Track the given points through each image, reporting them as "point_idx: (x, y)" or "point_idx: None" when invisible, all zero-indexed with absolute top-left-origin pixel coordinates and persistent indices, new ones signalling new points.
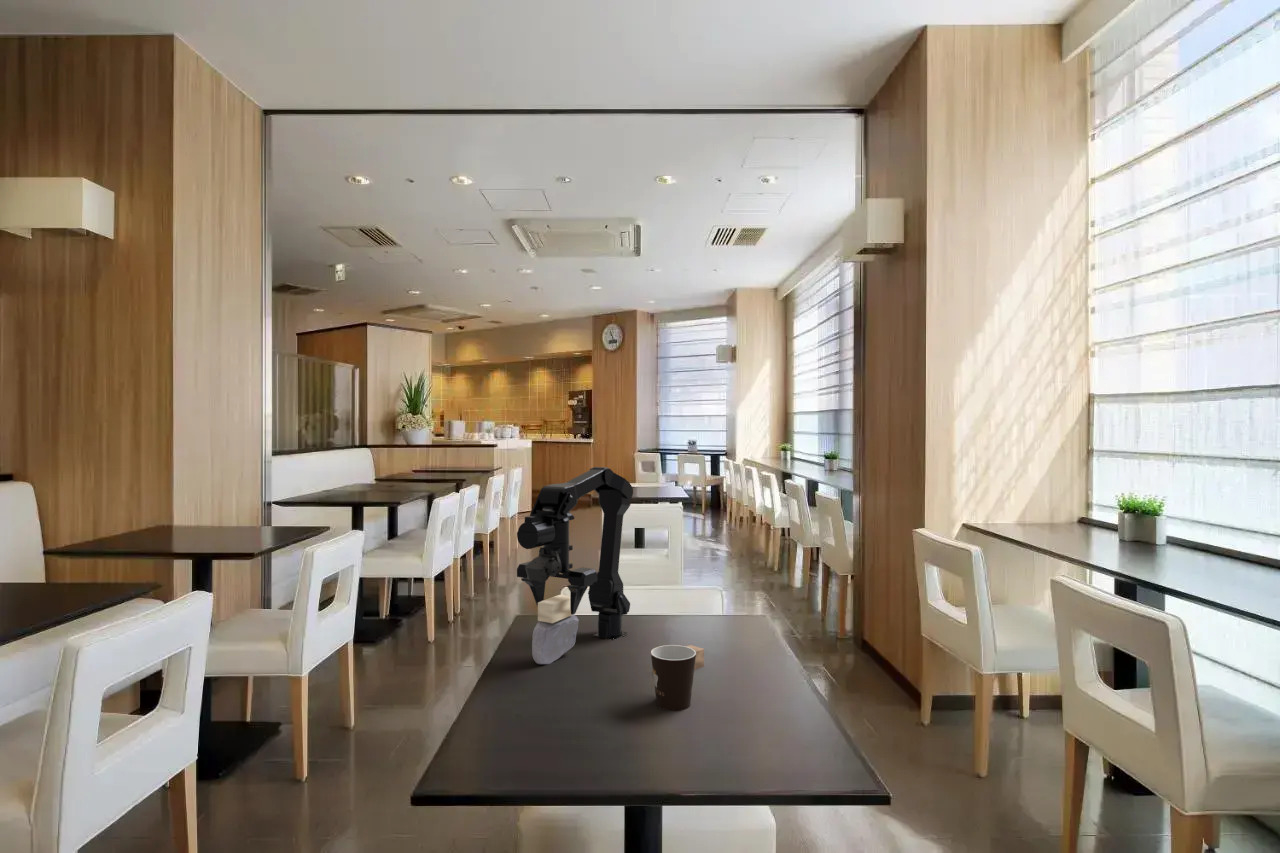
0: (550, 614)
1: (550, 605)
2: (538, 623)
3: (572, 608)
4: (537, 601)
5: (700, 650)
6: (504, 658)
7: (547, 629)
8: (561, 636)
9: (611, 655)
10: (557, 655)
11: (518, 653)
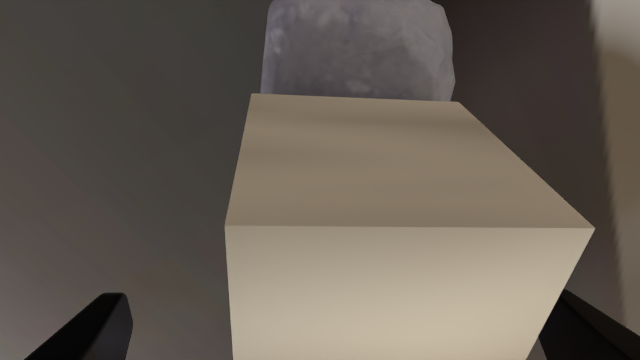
0: (277, 135)
1: (275, 215)
2: (421, 55)
3: (48, 346)
4: (623, 345)
5: None
6: (581, 28)
7: (273, 13)
8: None
9: (149, 269)
10: None
11: (535, 119)
